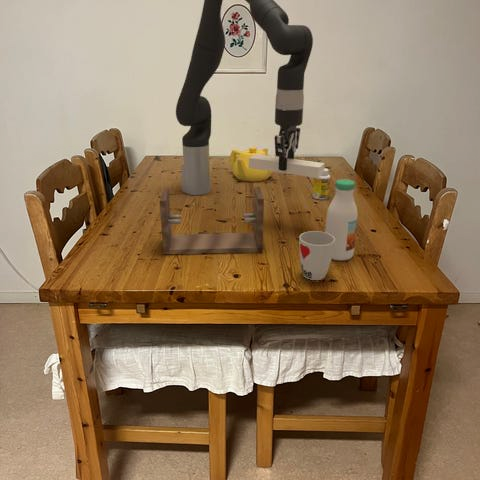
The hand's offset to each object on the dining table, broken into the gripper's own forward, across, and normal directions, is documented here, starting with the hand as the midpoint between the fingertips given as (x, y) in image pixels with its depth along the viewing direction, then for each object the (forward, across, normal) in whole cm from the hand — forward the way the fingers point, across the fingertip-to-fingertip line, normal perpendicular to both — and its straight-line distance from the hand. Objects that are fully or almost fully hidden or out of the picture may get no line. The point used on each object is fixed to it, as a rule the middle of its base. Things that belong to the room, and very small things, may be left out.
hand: (286, 167), depth 132 cm
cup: (+18, +26, +18) cm, 36 cm away
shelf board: (+1, 0, 0) cm, 1 cm away
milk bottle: (+18, +12, +20) cm, 30 cm away
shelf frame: (+18, +22, -12) cm, 31 cm away
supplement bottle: (+18, -30, +2) cm, 35 cm away
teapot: (+19, -42, -30) cm, 55 cm away
